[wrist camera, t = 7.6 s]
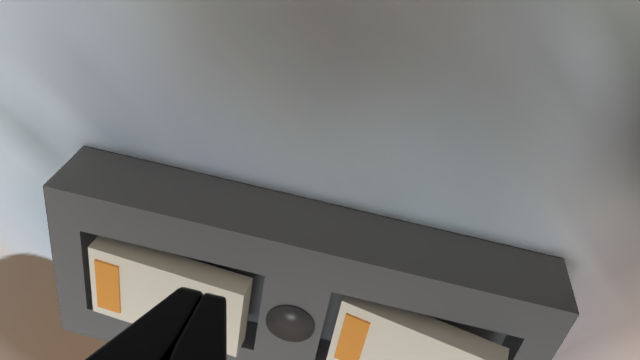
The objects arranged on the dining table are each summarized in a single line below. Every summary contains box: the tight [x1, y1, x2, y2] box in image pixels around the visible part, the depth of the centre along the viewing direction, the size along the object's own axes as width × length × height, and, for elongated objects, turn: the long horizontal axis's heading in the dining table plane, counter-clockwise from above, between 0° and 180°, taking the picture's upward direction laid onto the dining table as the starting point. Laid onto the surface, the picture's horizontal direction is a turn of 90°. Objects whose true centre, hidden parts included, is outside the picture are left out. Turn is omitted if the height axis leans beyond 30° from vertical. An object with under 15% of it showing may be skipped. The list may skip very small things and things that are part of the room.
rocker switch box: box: [43, 146, 579, 360], centre depth 24 cm, size 20×8×3 cm, turn 80°
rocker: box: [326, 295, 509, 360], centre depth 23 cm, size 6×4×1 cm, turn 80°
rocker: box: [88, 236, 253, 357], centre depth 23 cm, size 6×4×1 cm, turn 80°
